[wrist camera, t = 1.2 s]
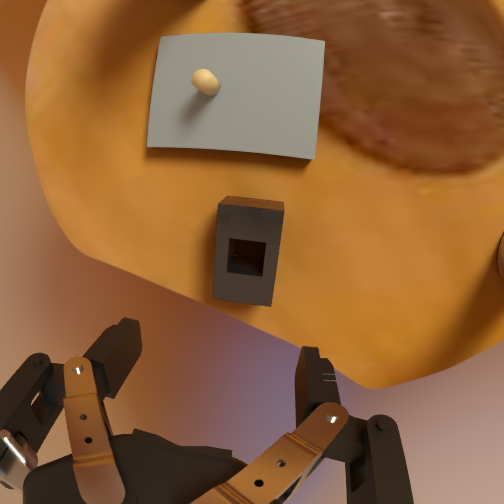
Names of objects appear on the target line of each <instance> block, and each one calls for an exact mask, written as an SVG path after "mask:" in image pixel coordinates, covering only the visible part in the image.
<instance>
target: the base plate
mask: <svg viewBox="0 0 504 504" xmlns="http://www.w3.org/2000/svg"><path fill="white" fill-rule="evenodd" d="M324 46H325V41H319V40H313V39H306V38H299V37H290V36H281V35H269V34H252V33H200V34H184V35H172V36H162V37H161V38H160V44H159V49H158V55H157V61H156V67H155V74H154V81H153V88H152V96H151V105H150V114H149V125H148V136H147V147H176V148H201V149H218V150H232V151H244V152H255V153H265V154H274V155H282V156H290V157H298V158H305V159H312V160H314V156H315V148H316V139H317V130H318V120H319V110H320V99H321V88H322V75H323V62H324Z"/></svg>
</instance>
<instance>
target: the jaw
mask: <svg viewBox="0 0 504 504" xmlns="http://www.w3.org/2000/svg"><path fill="white" fill-rule="evenodd" d="M283 217H284V202H279V201H271V200H262V199H253V198H244V197H235V196H227V197H225V198H224V199H223V200H222V201H221V202H219V203H218V214H217V229H216V245H215V262H214V281H213V299H217V300H224V301H231V302H238V303H246V304H253V305H261V306H269V307H271V304H272V297H273V290H274V283H275V276H276V269H277V262H278V255H279V247H280V240H281V232H282V225H283ZM235 239H241V240H249V241H257V242H266V250H265V259H259V258H251V257H243V256H235V255H234V250H235Z"/></svg>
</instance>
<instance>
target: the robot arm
mask: <svg viewBox="0 0 504 504" xmlns="http://www.w3.org/2000/svg"><path fill="white" fill-rule="evenodd" d="M497 265H498V271H499V273H500V276H501V277H502V278H503V279H504V235H503V237H502V239H501V242H500V245H499V250H498V257H497ZM141 351H142V340H141V331H140V324H139V321H138V320H134V319H130V318H125V317H124V318H123V319H122V320H121V321H120V322H119V324H118V325H112V326H110V327H109V328H107V329H106V330H105V331H104V332H103V333H102V334H101V336H100V337H99V338H98V339H97V341H95V342H94V343H93V345H92V346H91V347H90V348H89V349H88V350H87V352H86V353H85V354H84V355H83V356H82V357H74V358H71V359H69V360H68V361H67V362H66V363H65V364H57V363H51V361H50V358H49V356H48V355H46V354H44V353H35V354H33V355H31V356H29V357H28V358H27V359H26V361H25V362H24V363H23V364H22V365H21V367H19V369H18V370H17V371H16V372H15V373H14V374H13V376H12V377H11V378H10V379H9V381H8V382H7V383H6V384H5V385H4V386H3V388H2V389H1V390H0V483H1V484H2V485H3V486H5V487H6V488H8V489H15V490H17V491H19V492H20V493H22V494H23V504H284V503H285V502H286V501H287V500H289V499H290V497H292V495H293V494H294V493H295V492H296V491H297V490H298V489H299V488H300V486H301V485H302V484H303V483H304V482H305V481H306V480H307V478H308V477H309V476H310V475H311V474H312V473H313V472H314V471H315V469H317V467H318V466H319V465H320V464H321V463H322V462H323V460H324V459H325V458H330V459H334V460H338V461H342V462H345V469H346V488H347V489H346V490H347V504H414V502H413V496H412V491H411V485H410V480H409V475H408V470H407V465H406V460H405V456H404V451H403V447H402V443H401V438H400V434H399V430H398V426H397V424H396V422H395V421H394V420H393V419H392V418H391V417H389V416H386V415H374V416H372V417H371V418H370V419H369V420H368V421H367V420H363V419H359V418H355V417H353V416H350V415H349V414H348V412H347V410H346V409H345V408H344V407H343V406H342V405H341V402H340V397H339V392H338V388H337V382H336V378H335V372H334V367H333V365H332V364H331V362H330V361H329V360H328V358H320V355H319V349H318V347H308V346H302V348H301V352H300V356H299V360H298V364H297V368H296V372H295V403H296V404H295V407H296V429H295V430H294V431H293V432H292V433H291V434H290V433H286V434H284V435H283V436H282V437H281V438H280V439H278V440H277V441H276V442H275V443H274V444H273V445H272V446H271V447H269V448H268V449H267V450H266V451H265V452H264V453H262V454H261V455H260V456H259V457H258V458H256V459H255V460H254V461H253V462H251V463H250V464H249V465H247V464H246V463H244V462H243V461H241V460H238V459H236V458H233V457H232V450H226V449H220V448H214V447H208V446H179V445H176V444H174V443H172V442H170V441H168V440H166V439H164V438H162V437H160V436H158V435H156V434H152V433H148V432H145V431H142V430H138V429H134V431H133V433H132V434H121V435H115V436H114V435H113V432H112V429H111V426H110V423H109V419H108V416H107V412H106V409H105V405H104V402H103V400H104V398H105V397H109V398H112V399H114V398H115V396H116V394H117V393H118V391H119V389H120V387H121V386H122V385H123V383H124V381H125V379H126V378H127V376H128V374H129V373H130V371H131V370H132V368H133V366H134V365H135V363H136V361H137V360H138V358H139V357H140V355H141ZM37 393H39V396H38V397H37V398H36V400H35V401H34V403H33V404H32V405H31V402H32V400H33V398H34V397H35V396H36V394H37ZM63 407H64V409H65V416H66V423H67V429H68V435H69V441H70V445H71V451H72V454H69V455H67V456H64V457H62V458H59V459H57V460H54V461H52V462H49V463H46V464H44V465H41V466H37V464H38V457H37V452H38V450H39V448H40V447H41V445H42V443H43V441H44V440H45V438H46V436H47V434H48V433H49V431H50V429H51V427H52V426H53V424H54V423H55V421H56V419H57V418H58V416H59V414H60V413H61V411H62V409H63Z"/></svg>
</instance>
